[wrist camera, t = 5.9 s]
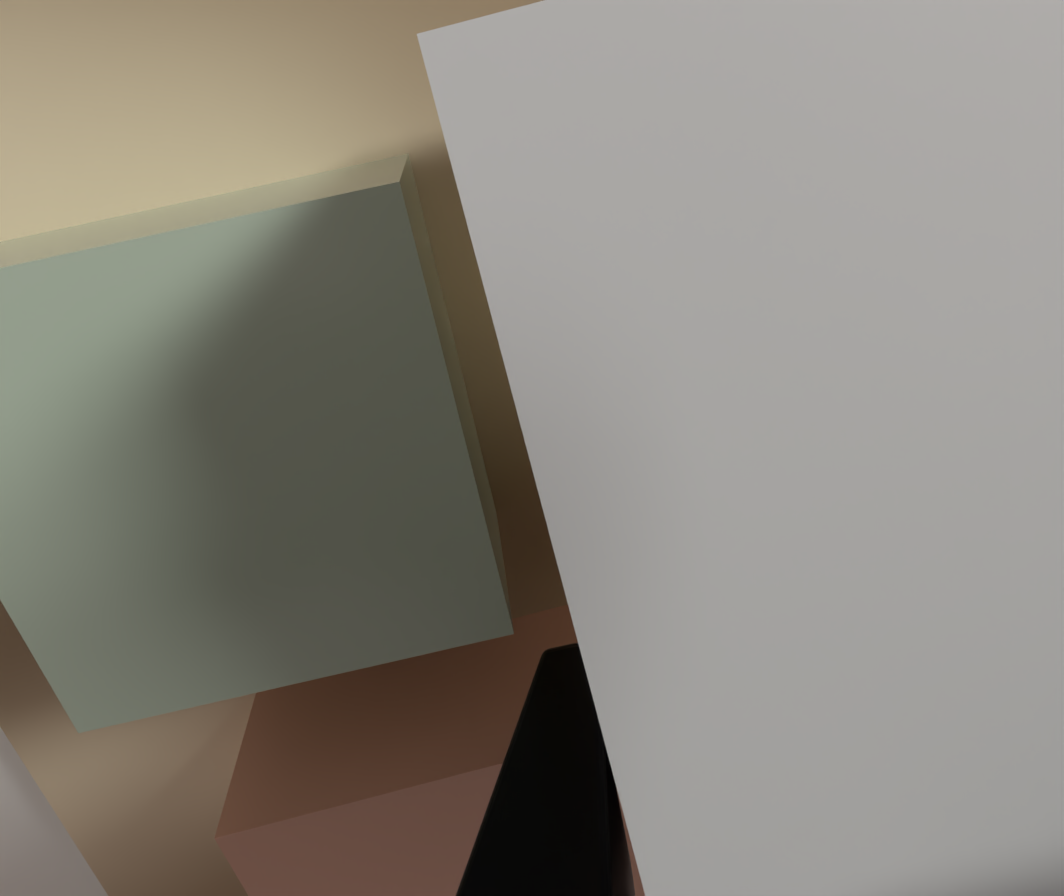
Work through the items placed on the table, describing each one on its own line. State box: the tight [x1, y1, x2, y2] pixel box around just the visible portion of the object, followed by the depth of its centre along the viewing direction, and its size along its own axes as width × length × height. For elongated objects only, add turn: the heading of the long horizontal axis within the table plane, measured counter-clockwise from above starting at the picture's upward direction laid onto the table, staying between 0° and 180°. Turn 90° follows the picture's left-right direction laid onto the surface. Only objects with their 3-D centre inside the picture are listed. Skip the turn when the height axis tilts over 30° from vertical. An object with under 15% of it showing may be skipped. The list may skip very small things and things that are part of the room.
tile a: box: [214, 604, 645, 896], centre depth 11 cm, size 4×4×2 cm
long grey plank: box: [417, 0, 1064, 896], centre depth 7 cm, size 12×2×5 cm, turn 13°
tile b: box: [0, 154, 514, 733], centre depth 8 cm, size 4×4×2 cm
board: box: [0, 0, 568, 896], centre depth 11 cm, size 17×12×2 cm
